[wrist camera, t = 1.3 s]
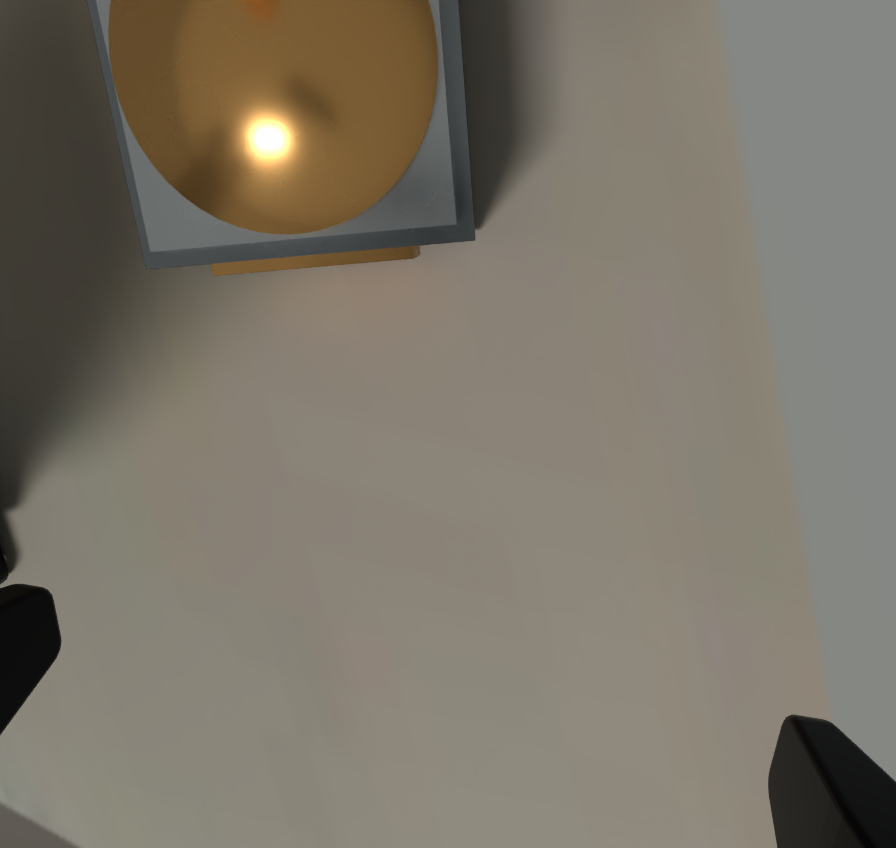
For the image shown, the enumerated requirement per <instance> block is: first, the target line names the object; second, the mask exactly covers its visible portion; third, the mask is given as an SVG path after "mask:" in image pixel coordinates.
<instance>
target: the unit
mask: <svg viewBox="0 0 896 848" xmlns="http://www.w3.org/2000/svg"><path fill="white" fill-rule="evenodd" d="M87 4H88V8H89V13H90V17H91V22H92V26H93V31H94V35H95V40H96V44H97V49H98V54H99V58H100V63H101V67H102V72H103V76H104V81H105V85H106V90H107V94H108V99H109V103H110V108H111V112H112V117H113V121H114V126H115V131H116V135H117V140H118V144H119V149H120V153H121V158H122V162H123V167H124V171H125V176H126V180H127V185H128V189H129V194H130V198H131V203H132V207H133V212H134V217H135V221H136V226H137V230H138V235H139V239H140V244H141V248H142V253H143V257H144V262H145V266H146V270H147V269H159V268H170V267H181V266H193V265H204V264H211V266H212V271H213V276H218V275H230V274H241V273H253V272H264V271H275V270H287V269H298V268H310V267H321V266H333V265H344V264H356V263H367V262H378V261H390V260H401V259H413V258H416V257H417V256H419V255H420V245H429V244H440V243H452V242H463V241H474V240H475V224H474V210H473V196H472V182H471V168H470V154H469V140H468V126H467V111H466V97H465V83H464V69H463V55H462V41H461V27H460V13H459V0H87Z"/></svg>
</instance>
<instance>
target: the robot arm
mask: <svg viewBox="0 0 896 848" xmlns="http://www.w3.org/2000/svg"><path fill="white" fill-rule="evenodd" d="M7 577H8V568H7V565H6V562H5V559H4V556H3V553H2V550H1V547H0V584H1V583H3V582H4V581H5V580H6V579H7ZM60 647H61V634H60V629H59V625H58V620H57V615H56V610H55V605H54V600H53V596H52V594H51V593H50V592H49V590H47V589H45V588H43V587H38V586H32V585H26V584H13V585H9V586H6V587H3V588H0V735H1V733H2V732H3V731H4V729H5V728H6V727H7V725H8V724H9V722H10V721H11V720H12V718H13V717H14V716H15V714H16V713H17V711H18V710H19V709H20V707H21V706H22V705H23V703H24V702H25V701H26V699H27V698H28V696H29V695H30V694H31V692H32V691H33V690H34V688H35V687H36V686H37V684H38V683H39V681H40V680H41V679H42V677H43V676H44V675H45V673H46V672H47V671H48V669H49V668H50V666H51V665H52V664H53V662H54V661H55V659H56V658H57V656H58V653H59V651H60ZM768 790H769V799H770V805H771V811H772V818H773V824H774V830H775V836H776V842H777V848H896V781H894V780H893V779H892V778H891V777H890V776H889V775H888V774H887V773H886V772H885V771H884V770H883V769H882V768H880V767H879V766H878V765H877V764H876V763H875V762H874V761H873V760H872V759H871V758H870V757H869V756H867V755H866V754H865V753H864V752H863V751H862V750H861V749H860V748H859V747H858V746H857V745H856V744H854V743H853V742H852V741H851V740H850V739H849V738H848V737H847V736H846V735H845V734H844V733H843V732H842V731H840V729H838V728H837V727H836V726H835V725H834V724H832V723H831V722H829V721H826V720H823V719H817V718H811V717H805V716H799V715H790V716H788V717H786V718H785V720H784V722H783V724H782V726H781V730H780V734H779V737H778V741H777V745H776V748H775V752H774V756H773V759H772V763H771V767H770V771H769V778H768Z"/></svg>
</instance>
